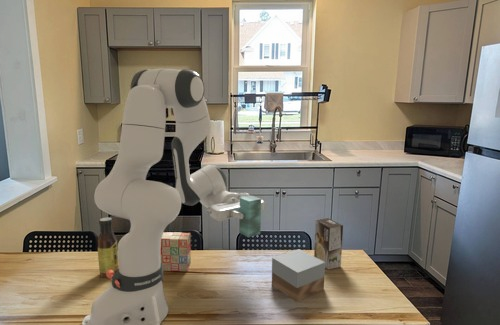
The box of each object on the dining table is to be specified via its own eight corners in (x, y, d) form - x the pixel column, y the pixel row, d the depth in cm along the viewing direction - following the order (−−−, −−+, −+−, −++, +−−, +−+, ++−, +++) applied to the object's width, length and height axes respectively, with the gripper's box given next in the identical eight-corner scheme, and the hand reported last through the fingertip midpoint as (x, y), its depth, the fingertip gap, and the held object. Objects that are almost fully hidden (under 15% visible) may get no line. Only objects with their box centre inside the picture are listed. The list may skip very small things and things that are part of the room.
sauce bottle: (119, 276, 116) (116, 221, 112) (99, 280, 113) (95, 223, 110) (118, 267, 122) (115, 215, 118) (99, 271, 119) (95, 217, 115)
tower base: (298, 302, 102) (298, 287, 101) (271, 286, 111) (272, 272, 111) (323, 289, 110) (324, 275, 109) (296, 275, 119) (297, 261, 118)
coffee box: (341, 266, 125) (344, 225, 122) (327, 270, 122) (330, 228, 119) (326, 256, 133) (328, 217, 130) (312, 259, 130) (314, 219, 127)
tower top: (297, 288, 101) (297, 272, 100) (271, 271, 111) (272, 257, 110) (324, 276, 108) (325, 262, 107) (298, 262, 118) (299, 248, 117)
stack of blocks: (128, 270, 120) (126, 237, 118) (134, 262, 126) (132, 231, 124) (187, 271, 120) (187, 239, 118) (191, 263, 126) (190, 232, 124)
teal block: (248, 237, 108) (249, 201, 106) (239, 232, 112) (239, 197, 110) (260, 234, 111) (261, 198, 109) (251, 229, 115) (251, 195, 113)
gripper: (202, 200, 114) (225, 211, 103) (250, 192, 126) (275, 200, 116) (202, 218, 115) (225, 230, 104) (250, 208, 127) (274, 218, 117)
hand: (251, 214), depth 110 cm, fingers closed on teal block, 5 cm apart
